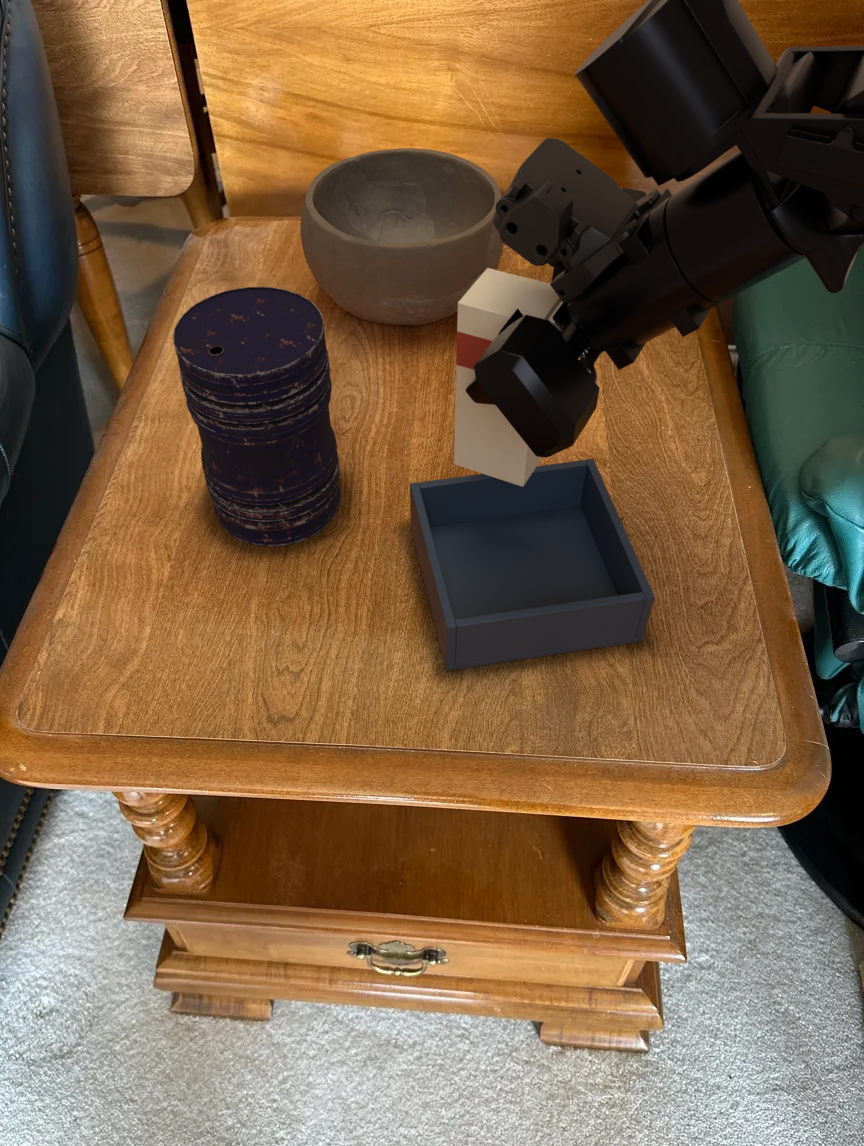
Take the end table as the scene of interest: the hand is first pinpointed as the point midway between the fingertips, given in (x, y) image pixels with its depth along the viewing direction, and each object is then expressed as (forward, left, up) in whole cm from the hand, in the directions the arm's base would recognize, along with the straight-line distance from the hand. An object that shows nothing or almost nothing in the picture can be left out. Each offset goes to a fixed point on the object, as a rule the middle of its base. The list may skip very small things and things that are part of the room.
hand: (485, 375), depth 59 cm
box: (-2, +6, -14) cm, 15 cm away
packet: (-1, +1, -6) cm, 6 cm away
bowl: (0, -31, -14) cm, 34 cm away
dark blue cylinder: (+14, -6, -14) cm, 21 cm away
